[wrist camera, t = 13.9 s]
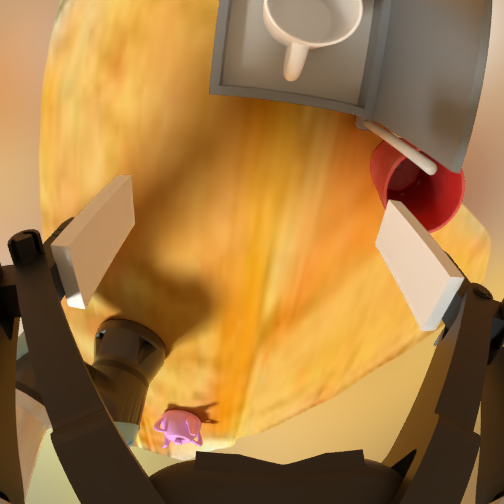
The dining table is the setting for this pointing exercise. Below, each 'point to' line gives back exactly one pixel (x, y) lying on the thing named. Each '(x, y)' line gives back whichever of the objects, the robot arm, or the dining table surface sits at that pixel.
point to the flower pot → (417, 186)
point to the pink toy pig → (179, 427)
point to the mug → (309, 26)
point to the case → (372, 71)
